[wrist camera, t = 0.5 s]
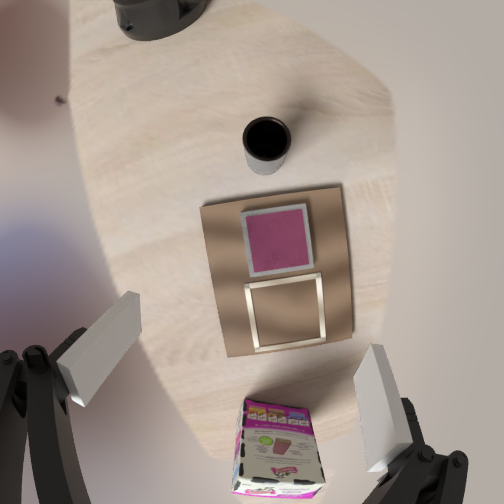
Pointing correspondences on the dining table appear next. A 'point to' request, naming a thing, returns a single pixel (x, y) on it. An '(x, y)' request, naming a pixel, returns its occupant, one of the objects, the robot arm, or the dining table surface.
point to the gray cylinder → (266, 144)
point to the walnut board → (280, 279)
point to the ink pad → (277, 240)
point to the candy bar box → (276, 452)
